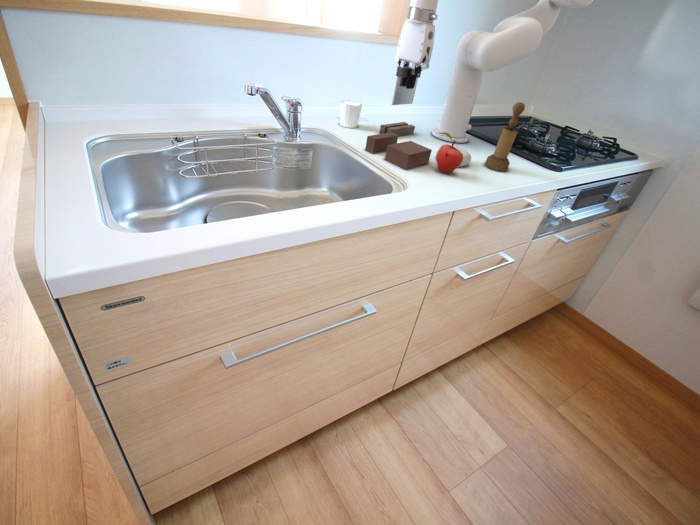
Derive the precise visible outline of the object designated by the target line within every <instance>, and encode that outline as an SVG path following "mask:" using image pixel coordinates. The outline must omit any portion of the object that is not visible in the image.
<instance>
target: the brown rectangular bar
mask: <svg viewBox="0 0 700 525" xmlns="http://www.w3.org/2000/svg"><path fill="white" fill-rule="evenodd" d="M398 140H399V136H398V135H396V134H394V133H391V132H390V133H383V134H381V133H377V134H371V135H367V137H366V143H365V149H364V150H365V151H366V152H368V153H370V154H377V153H383V152H386V150H387V145H391V144H396V143H398Z"/></svg>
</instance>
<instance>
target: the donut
mask: <svg viewBox="0 0 700 525" xmlns="http://www.w3.org/2000/svg"><path fill="white" fill-rule="evenodd" d="M453 147H455V148H456V149H458V150H459V151H460V152H461V153H462V154H463V161H462V163H461V164H460V165H459V166H458V167H465V166H467V165H469V164H470V163H471V161H472V154H471V153H470V152H469V151H468V150H467V149H464V148H461V147H458V146H454V145H453ZM440 148H441V146H440V147H438V149H437V151H436V154H435V155H436V156H437V153H438V151H439V149H440Z"/></svg>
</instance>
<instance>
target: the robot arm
mask: <svg viewBox="0 0 700 525" xmlns="http://www.w3.org/2000/svg"><path fill="white" fill-rule="evenodd" d="M593 2H594V0H539V1H538V2H537V3H536V4H535V5H534V6H532V7H530V8H528V9H526V10H523V11H522V12H521V11H520V12H519V13H517V14H515V15H512V16H509V17H506V18H504V19H502V20H501V21H499V23H497V25H496V26H495V27H494V28H493V30H492V32H489V31H485V30H480V29H475V30H470V31H468V32H467V33H465V34H464V35H463V36H462V37H461V38H460V39H459V41H458V43H457V45H456V50H455V55H454V65H453V70H452V75H451V79H450V82H449V85H448V88H447V93H446V96H445V101H444V104H443V108H442V112H441V115H440V118H439V123H438V126H437V127H436V128H435V127H434V128H433V129H432V130H431V133H432V136H434V137H435V138H437V139H440V140H442V141H444V142H445V141H446V142H450V143H452V141H454V140H455V141H456V142H455V144H464V143H467V142H468V141H469V138H470V137H469V136H468V134H467V133H466V132H467V131H471V130H472V129H473V128H472V124H469V123H470V120H471V118H472V114H473V110H474V108H475V104H476V102H477V98H478V96H479V92H480V89H481V86H482V81H483V73H490V72H494V71H497V70H500V69H502V68H504V67H508V66H509V65H512V64H514V63H517V62H518V61H521V60H523V59H526V58H527V57H529V56H531V55H532V54H533V53H534V52H535V51H536V50H537V49H538V47H539V46H540V44H541V42H542V41H543V36H544V35H545V34H547V33H548V32H550V31H551V29H552V27H553V26H554V25H555V22H556V20H557V19H558V17H559V14H560V12H561V10H562V9H572V10H573V9H574V10H579V9H584V8H586V7H588V6H589V5H591V4H592V3H593ZM438 4H439V0H410V2H409V7H408V13H407V18H406V19H405V20H404V22H403V26H402V28H401V32H400V35H399V39H398V44H397V49H396V54H395V56H394V58H393V59H394V61H395V62H396V63H397V64H398V66H405V67H410V64H411V63H412V64H411V67H412V69H411V74H409V76H408V81H407V85H406V88H407V89H413V88H414V86H415V82H416V78H417V75H419V73H420V72H421V73H422V72H423V71H424V70H427V69H429V68H430V61H431V59H432V55H433V49H434V42H435V36H436V34H435V33H436V25H434V22H435V21H437V20H438V18H439V17H438V16H439V15H438V14H437V8H438ZM444 132H446V133H448V134H450V136H451V138H452V140H451V139H450V138H449V137H448V136H447V135H445V134H439V133H444Z"/></svg>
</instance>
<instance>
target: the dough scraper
mask: <svg viewBox="0 0 700 525" xmlns="http://www.w3.org/2000/svg"><path fill="white" fill-rule="evenodd" d="M411 69H412V66H409V67H405V66H399V65H398V66H397V67H396V73H395V76H396V81H395V86H394V90H393V96H392V100H391V106H400V105H401V106H402V105H412V104H413V103H414V98H415V95H416V90H417V86H418V81H419V78H421V74H422V71H421V72H420V73H419V75H417V78H416V82H415V86H414V88H413V89H407V88H406V85H407V81H408V76H409V74H411Z"/></svg>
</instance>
